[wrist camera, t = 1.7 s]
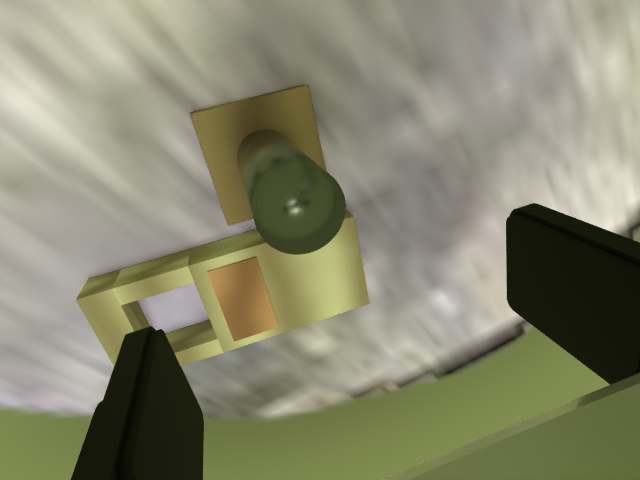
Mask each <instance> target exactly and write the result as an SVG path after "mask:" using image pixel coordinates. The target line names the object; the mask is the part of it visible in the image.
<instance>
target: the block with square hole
mask: <svg viewBox="0 0 640 480" xmlns="http://www.w3.org/2000/svg"><path fill="white" fill-rule="evenodd" d="M192 283H195V285H196V287H197V290H198V292H199V295H200V297H201V300H202V302H203V304H204V307H205V309H206V312H207V314H208V317H209V319H210V320H208V321H205V322H201V323H198V324H195V325H192V326H189V327H186V328H183V329H180V330H177V331H173V332H170V333H167V334H166V337H167V339H168V341H169V343H170V345H171V347H172V349H173V351H174V353H175V355H176V358H177V360H178V362H179V364H180V366H181V367H182V366H185V365H188V364H191V363H194V362H197V361H200V360H203V359H206V358H209V357H212V356H215V355H218V354H221V353H224V352H227V351H230V350H233V349H236V348H239V347H242V346H244V345H247V344H250V343H253V342H256V341H259V340H262V339H265V338H268V337H271V336H274V335H277V334H280V333H283V332H286V331H289V330H292V329H295V328H298V327H301V326H304V325H307V324H310V323H313V322H316V321H319V320H322V319H325V318H328V317H331V316H334V315H337V314H340V313H343V312H346V311H349V310H352V309H355V308H358V307H361V306H364V305H367V304H370V303H369V298H368V292H367V287H366V282H365V276H364V271H363V266H362V260H361V255H360V250H359V244H358V239H357V234H356V228H355V223H354V218H353V216H352V215H351V214H350V213H349V212H348V211H347V210H346V211H345V217H344V221H343V224H342V226H341V228H340V230H339V232H338V233H337V234H336V236H335V237H334V238H333V239H332V240H331V241H330V242H329V243H328V244H327V245H325V246H324V247H322V248H321V249H319V250H317V251H314V252H311V253H307V254H301V255H293V254H286V253H283V252H280V251H278V250H276V249H274V248H272V247H271V246H270V245H268V244H267V243H266V242H265V241H264V240H263V238H262V237H261V236H260V234H259V232H258V230H253V231H250V232H246V233H243V234H240V235H236V236H233V237H229V238H226V239H223V240H219V241H216V242H212V243H209V244H206V245H202V246H199V247H196V248H192V249H189V250H185V251H182V252H179V253H175V254H172V255H168V256H165V257H162V258H158V259H155V260H151V261H148V262H145V263H141V264H138V265H134V266H131V267H128V268H124V269H121V270H117V271H114V272H111V273H107V274H104V275H100V276H97V277H94V278H90V279H88V280H87V282H86V284H85V285H84V287H83V289H82V290H81V292H80V294H79V295H78V297H77V299H76V301H77V303H78V305H79V306H80V308H81V310H82V312H83V313H84V315H85V317H86V318H87V320H88V322H89V324H90V325H91V327H92V329H93V330H94V332H95V334H96V336H97V337H98V339H99V341H100V343H101V344H102V346H103V348H104V349H105V351H106V353H107V355H108V356H109V358H110V360H111V362H112V363H113V365H114V366H115V363H116V360H117V357H118V354H119V351H120V348H121V345H122V342H123V339H124V336H125V335H126V334H128V333H131V332H134V331H137V330H140V329H143V328H146V327H149V324H148V322H147V320H146V318H145V316H144V314H143V312H142V310H141V308H140V306H139V304H138V302H137V300H140V299H144V298H147V297H150V296H153V295H157V294H160V293H163V292H166V291H170V290H173V289H176V288H179V287H183V286H186V285H189V284H192Z"/></svg>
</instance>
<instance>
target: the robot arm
mask: <svg viewBox="0 0 640 480" xmlns="http://www.w3.org/2000/svg"><path fill="white" fill-rule="evenodd" d="M506 257H507V301H508V304H509V306H510V307H511V308H512V310H513V311H515V312H516V313H517V314H519V315H520V316H521V317H522V318H524V319H525V320H526V321H528V322H529V323H530V324H532V325H533V326H534V327H536V328H537V329H538V330H540V331H541V332H542V333H544V334H545V335H546V336H548V337H549V338H550V339H551V340H553V341H554V342H555V343H557V344H558V345H559V346H561V347H562V348H563V349H564V350H566V351H567V352H568V353H570V354H571V355H572V356H574V357H575V358H576V359H578V360H579V361H580V362H582V363H583V364H584V365H586V366H587V367H588V368H589V369H591V370H592V371H593V372H595V373H596V374H597V375H599V376H600V377H601V378H603V379H604V380H605V381H607V382H608V383H609V384H610V385H609V386H607V387H604V388H602V389H599V390H597V391H594V392H592V393H589V394H587V395H584V396H582V397H580V398H577V399H575V400H572V401H570V402H567V403H565V404H562V405H560V406H557V407H555V408H553V409H550V410H548V411H545V412H543V413H540V414H538V415H536V416H533V417H531V418H528V419H526V420H524V421H521V422H519V423H516V424H514V425H511V426H509V427H506V428H504V429H502V430H499V431H497V432H494V433H492V434H489V435H487V436H485V437H482V438H480V439H478V440H475V441H473V442H470V443H468V444H465V445H463V446H461V447H458V448H456V449H454V450H451V451H448V452H446V453H444V454H441V455H439V456H436V457H434V458H431V459H429V460H427V461H424V462H422V463H420V464H417V465H415V466H412V467H410V468H408V469H405V470H403V471H400V472H398V473H396V474H393V475H391V476H389V477H386V478H384V479H381V480H640V243H639V242H637V241H634V240H631V239H629V238H626V237H623V236H621V235H618V234H615V233H613V232H610V231H608V230H605V229H602V228H600V227H597V226H594V225H592V224H589V223H586V222H584V221H581V220H579V219H576V218H573V217H571V216H568V215H565V214H563V213H560V212H557V211H555V210H552V209H550V208H547V207H544V206H542V205H539V204H535V203H533V204H529V205H526V206H523V207H520V208H517V209H514V210H513V211H512V212H511V214H510V216H509V217H508V218H507V220H506ZM203 435H204V420H203V414H202V411H201V408H200V406H199V404H198V402H197V399H196V397H195V395H194V393H193V391H192V389H191V387H190V385H189V383H188V381H187V379H186V376H185V374H184V372H183V370H182V368H181V366H180V364H179V362H178V360H177V358H176V355H175V353H174V351H173V349H172V347H171V345H170V343H169V341H168V339H167V337H166V334H165V333H164V331H163V330H162V329H160V330H157V331H155V329H154V328H153V327H151V326H149V327H146V328H143V329H140V330H137V331H134V332H131V333H128V334H126V335H125V336H124V339H123V342H122V345H121V348H120V351H119V354H118V357H117V360H116V363H115V366H114V369H113V372H112V375H111V378H110V381H109V384H108V387H107V390H106V393H105V396H104V399H103V401H101V402H100V403H99V404H98V405H97V407H96V409H95V412H94V415H93V417H92V420H91V423H90V426H89V429H88V432H87V435H86V438H85V441H84V443H83V446H82V449H81V452H80V455H79V458H78V461H77V463H76V466H75V469H74V472H73V475H72V478H71V480H203V439H204V437H203Z"/></svg>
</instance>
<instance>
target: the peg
mask: <svg viewBox="0 0 640 480" xmlns="http://www.w3.org/2000/svg"><path fill="white" fill-rule="evenodd" d="M237 161H238V166H239V169H240V173H241V176H242V180H243V183H244V187H245V190H246V194H247V197H248V200H249V204H250V207H251V211H252V214H253V218H254V221H255V225H256V227H257V230H258V232H259V234H260V236H261V237H262V238H263V240H264V241H265V242H266V243H267V244H268V245H270V246H271V247H272V248H274V249H276V250H278V251H280V252H283V253H286V254H293V255H301V254H307V253H311V252H314V251H317V250H319V249H321V248H322V247H324V246H325V245H327V244H328V243H329V242H330V241H331V240H332V239H333V238H334V237H335V236H336V234H337V233H338V232H339V230H340V228H341V226H342V224H343V221H344V217H345V211H346V204H345V198H344V194H343V192H342V189H341V187H340V186H339V184H338V183H337V181H336V180H335V179H334V178H333V177H332V176H331V175H330V174H328V173H327V172H326V171H325V170H324V169H323V168H321V167H320V166H319V165H318V164H317V163H316V162H314V161H313V160H312V159H311V158H310V157H308V156H307V155H306V154H305V153H304V152H303V151H301V150H300V149H299V148H298V147H297V146H296V145H294V144H293V143H292V142H291V141H290V140H288V139H287V138H286V137H285V136H284V135H282V134H281V133H279V132H277V131H274V130H270V129H261V130H257V131H254V132H252V133H251V134H249V135H248V136H247V137H246V138H245V139H244V140H243V141H242V143H241V144H240V147H239V149H238V154H237Z"/></svg>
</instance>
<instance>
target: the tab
mask: <svg viewBox="0 0 640 480" xmlns="http://www.w3.org/2000/svg"><path fill="white" fill-rule="evenodd" d="M190 116H191V119H192V122H193V125H194V128H195V131H196V134H197V137H198V140H199V143H200V146H201V149H202V151H203V154H204V157H205V160H206V163H207V166H208V169H209V172H210V175H211V178H212V181H213V184H214V186H215V189H216V192H217V195H218V198H219V201H220V204H221V207H222V210H223V213H224V216H225V219H226V222H227V224H228V226H229V225H233V224H236V223H239V222H243V221H246V220H250V219H253V214H252V211H251V207H250V204H249V200H248V197H247V194H246V190H245V187H244V183H243V180H242V176H241V173H240V169H239V166H238V161H237V154H238V149H239V147H240V144H241V143H242V141H243V140H244V139H245V138H246V137H247V136H248V135H249V134H251V133H252V132H254V131H257V130H261V129H270V130H274V131H277V132H279V133H281V134H282V135H284V136H285V137H286V138H287V139H288V140H290V141H291V142H292V143H293V144H294V145H296V146H297V147H298V148H299V149H300V150H301V151H303V152H304V153H305V154H306V155H307V156H308V157H310V158H311V159H312V160H313V161H314V162H316V163H317V164H318V165H319V166H320V167H321V168H323V169H324V170H325V171H326V168H325V164H324V159H323V154H322V149H321V144H320V140H319V135H318V130H317V125H316V121H315V116H314V111H313V106H312V101H311V97H310V92H309V87H308V85H301V86H297V87H293V88H288V89H284V90H280V91H276V92H272V93H268V94H264V95H260V96H256V97H252V98H248V99H244V100H240V101H236V102H232V103H227V104H223V105H219V106H215V107H211V108H207V109H203V110H199V111H195V112H191V113H190Z"/></svg>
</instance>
